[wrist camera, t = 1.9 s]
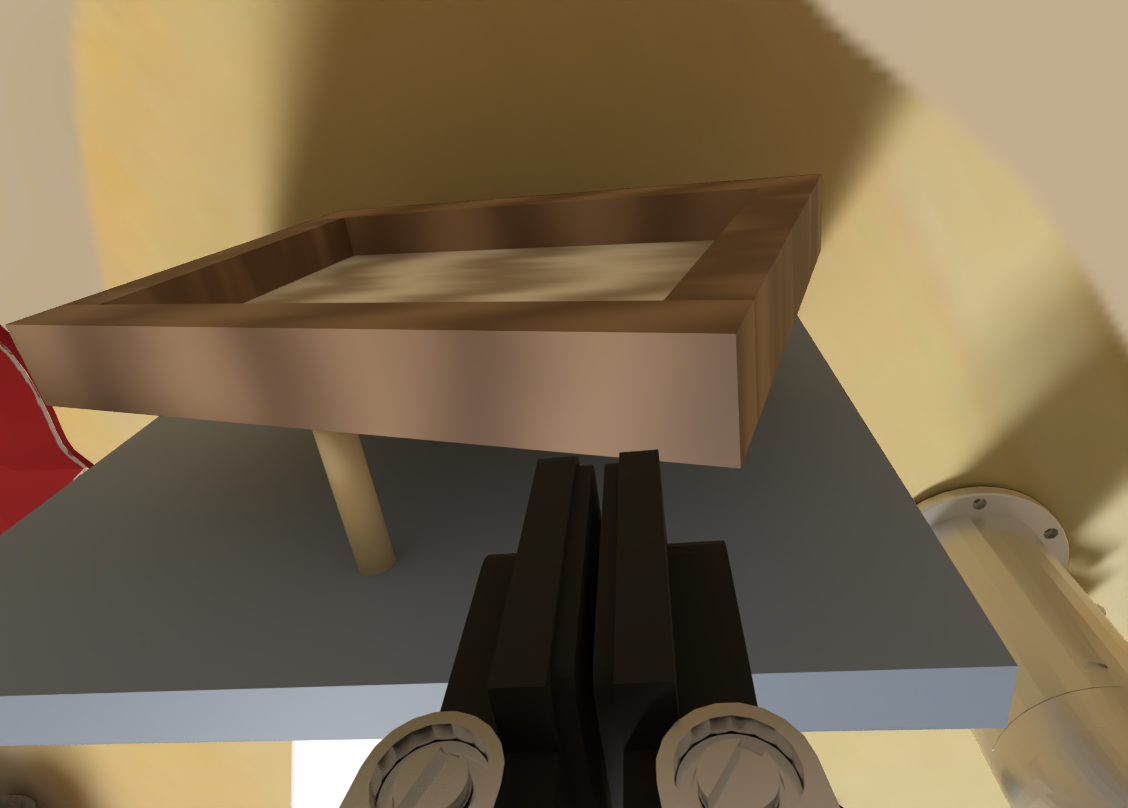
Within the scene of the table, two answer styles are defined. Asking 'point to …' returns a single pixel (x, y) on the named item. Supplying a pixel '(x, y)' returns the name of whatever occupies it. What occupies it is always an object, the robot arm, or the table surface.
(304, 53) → the table surface
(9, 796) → the bouquet
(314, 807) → the laminator
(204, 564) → the board
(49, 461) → the emblem
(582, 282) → the picture frame
